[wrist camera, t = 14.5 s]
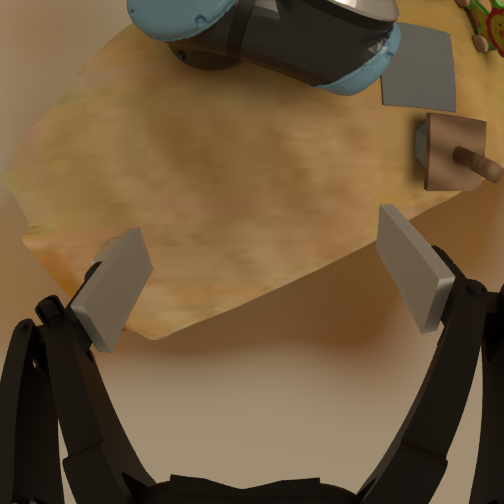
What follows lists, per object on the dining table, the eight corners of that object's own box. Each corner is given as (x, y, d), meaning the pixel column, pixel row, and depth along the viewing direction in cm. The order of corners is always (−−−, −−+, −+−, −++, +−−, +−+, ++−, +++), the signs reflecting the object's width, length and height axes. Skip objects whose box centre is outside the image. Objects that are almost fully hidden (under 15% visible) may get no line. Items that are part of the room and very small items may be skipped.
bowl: (414, 114, 40) (431, 119, 35) (460, 120, 39) (478, 125, 34) (413, 172, 46) (428, 183, 41) (457, 173, 45) (474, 183, 40)
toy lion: (449, -9, 25) (495, -23, 12) (466, -8, 24) (512, -19, 11) (479, 62, 32) (531, 66, 19) (494, 60, 31) (545, 65, 18)
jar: (152, 257, 58) (131, 293, 48) (130, 276, 61) (109, 311, 50) (122, 227, 54) (95, 259, 44) (102, 248, 57) (76, 280, 47)
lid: (426, 112, 35) (467, 123, 25) (482, 120, 34) (524, 134, 24) (423, 188, 42) (458, 216, 32) (476, 188, 40) (513, 214, 31)
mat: (373, 19, 32) (373, 18, 32) (448, 33, 31) (449, 33, 30) (382, 104, 40) (383, 104, 40) (454, 111, 39) (456, 112, 38)
